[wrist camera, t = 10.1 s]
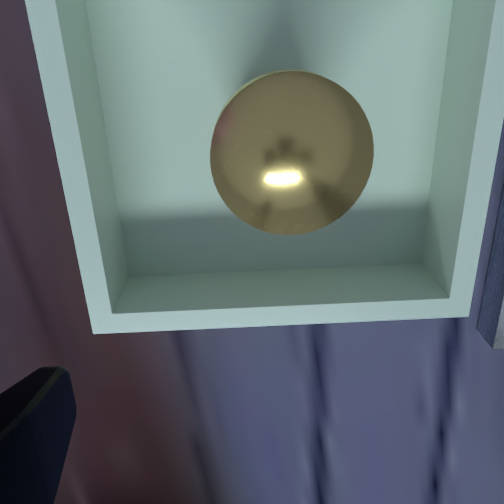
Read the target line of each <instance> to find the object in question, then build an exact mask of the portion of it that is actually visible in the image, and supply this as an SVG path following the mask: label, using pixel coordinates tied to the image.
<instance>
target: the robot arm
mask: <svg viewBox="0 0 504 504" xmlns="http://www.w3.org/2000/svg"><path fill="white" fill-rule="evenodd" d="M75 419H76V402H75V397H74V393H73V388H72V384H71V379H70V375H69V372H68V370H67V369H66V368H65V367H63V366H58V367H41V368H39V369H37V370H36V371H34V372H33V373H31V374H30V375H28V376H27V377H25V378H24V379H22V380H21V381H19V382H18V383H16V384H15V385H13V386H12V387H10V388H9V389H7V390H6V391H4V392H3V393H1V394H0V504H54V500H55V497H56V493H57V489H58V486H59V482H60V478H61V474H62V470H63V466H64V462H65V458H66V454H67V451H68V447H69V443H70V439H71V435H72V431H73V427H74V423H75Z"/></svg>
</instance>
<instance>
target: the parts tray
mask: <svg viewBox="0 0 504 504" xmlns="http://www.w3.org/2000/svg"><path fill="white" fill-rule="evenodd" d="M25 3H26V8H27V13H28V18H29V23H30V28H31V32H32V37H33V42H34V47H35V52H36V57H37V62H38V67H39V72H40V76H41V81H42V86H43V91H44V96H45V101H46V106H47V111H48V116H49V120H50V125H51V130H52V135H53V140H54V145H55V150H56V155H57V160H58V164H59V169H60V174H61V179H62V184H63V189H64V194H65V199H66V204H67V208H68V213H69V218H70V223H71V228H72V233H73V238H74V243H75V248H76V253H77V257H78V262H79V267H80V272H81V277H82V282H83V287H84V292H85V297H86V301H87V306H88V311H89V316H90V321H91V326H92V331H93V334H105V333H127V332H148V331H170V330H191V329H213V328H235V327H256V326H278V325H299V324H321V323H342V322H364V321H386V320H407V319H429V318H450V317H469V311H470V305H471V300H472V294H473V288H474V283H475V277H476V271H477V266H478V260H479V255H480V249H481V243H482V238H483V232H484V226H485V221H486V215H487V209H488V204H489V198H490V192H491V187H492V181H493V175H494V170H495V164H496V158H497V153H498V147H499V141H500V136H501V130H502V124H503V119H504V0H25ZM281 69H300V70H306V71H310V72H313V73H317V74H319V75H321V76H323V77H325V78H327V79H329V80H331V81H333V82H335V83H337V84H338V85H340V86H341V87H343V88H344V89H345V90H347V91H348V92H349V93H350V94H351V95H352V96H353V97H354V98H355V99H356V101H357V102H358V103H359V104H360V106H361V108H362V109H363V111H364V112H365V114H366V117H367V119H368V121H369V124H370V127H371V131H372V135H373V142H374V158H373V165H372V169H371V173H370V177H369V179H368V182H367V184H366V186H365V188H364V190H363V192H362V194H361V195H360V197H359V198H358V199H357V201H356V202H355V204H354V205H353V206H352V207H351V208H350V209H349V210H348V211H347V212H346V213H345V214H344V215H342V216H341V217H340V218H339V219H337V220H336V221H334V222H333V223H331V224H329V225H327V226H325V227H323V228H321V229H318V230H315V231H313V232H309V233H304V234H297V235H279V234H272V233H268V232H264V231H261V230H259V229H256V228H254V227H252V226H250V225H249V224H247V223H245V222H244V221H242V220H241V219H240V218H238V217H237V216H236V215H235V214H234V213H233V212H232V211H231V210H230V209H229V208H228V207H227V205H226V204H225V203H224V202H223V200H222V198H221V197H220V195H219V193H218V191H217V189H216V186H215V184H214V181H213V177H212V173H211V166H210V148H211V141H212V136H213V131H214V128H215V124H216V121H217V119H218V116H219V114H220V112H221V110H222V109H223V107H224V105H225V104H226V102H227V101H228V100H229V98H230V97H231V96H232V95H233V94H234V93H235V92H236V91H237V90H238V89H239V88H240V87H241V86H243V85H244V84H245V83H247V82H248V81H250V80H252V79H253V78H255V77H257V76H260V75H262V74H264V73H267V72H271V71H275V70H281Z"/></svg>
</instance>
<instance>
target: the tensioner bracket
mask: <svg viewBox="0 0 504 504" xmlns="http://www.w3.org/2000/svg"><path fill="white" fill-rule="evenodd" d="M477 331H478V332H479V333H480V334H481V335H482V337H483V338H484V339H485V340H486V341H487V343H488V344H489V345H490V346H491V348H492V349H504V187H503V192H502V197H501V203H500V208H499V213H498V219H497V224H496V229H495V235H494V240H493V245H492V251H491V256H490V261H489V267H488V272H487V277H486V283H485V288H484V293H483V299H482V304H481V310H480V315H479V320H478V326H477Z"/></svg>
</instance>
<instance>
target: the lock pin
mask: <svg viewBox="0 0 504 504" xmlns="http://www.w3.org/2000/svg"><path fill="white" fill-rule="evenodd" d="M373 158H374V142H373V135H372V131H371V127H370V124H369V121H368V119H367V117H366V114H365V112H364V111H363V109H362V108H361V106H360V104H359V103H358V102H357V101H356V99H355V98H354V97H353V96H352V95H351V94H350V93H349V92H348V91H347V90H345V89H344V88H343V87H341V86H340V85H338V84H337V83H335V82H333V81H331V80H329V79H327V78H325V77H323V76H321V75H319V74H317V73H313V72H310V71H306V70H300V69H281V70H275V71H271V72H267V73H264V74H262V75H260V76H257V77H255V78H253V79H252V80H250V81H248V82H247V83H245V84H244V85H243V86H241V87H240V88H239V89H238V90H237V91H236V92H235V93H234V94H233V95H232V96H231V97H230V98H229V100H228V101H227V102H226V104H225V105H224V107H223V109H222V110H221V112H220V114H219V116H218V119H217V121H216V124H215V128H214V131H213V136H212V141H211V148H210V166H211V173H212V177H213V181H214V184H215V186H216V189H217V191H218V193H219V195H220V197H221V198H222V200H223V202H224V203H225V204H226V205H227V207H228V208H229V209H230V210H231V211H232V212H233V213H234V214H235V215H236V216H237V217H238V218H240V219H241V220H242V221H244V222H245V223H247V224H249V225H250V226H252V227H254V228H256V229H259V230H261V231H264V232H268V233H272V234H279V235H297V234H304V233H309V232H313V231H315V230H318V229H321V228H323V227H325V226H327V225H329V224H331V223H333V222H334V221H336V220H337V219H339V218H340V217H341V216H342V215H344V214H345V213H346V212H347V211H348V210H349V209H350V208H351V207H352V206H353V205H354V204H355V202H356V201H357V199H358V198H359V197H360V195H361V194H362V192H363V190H364V188H365V186H366V184H367V182H368V179H369V177H370V173H371V169H372V165H373Z"/></svg>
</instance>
